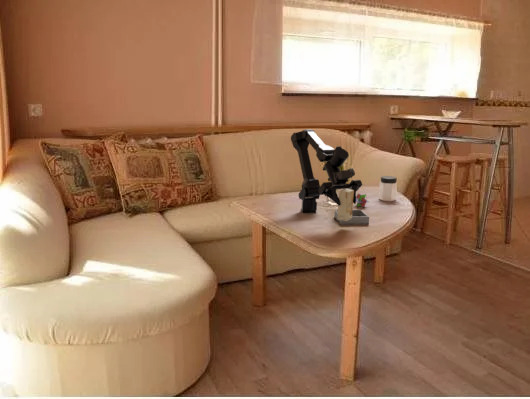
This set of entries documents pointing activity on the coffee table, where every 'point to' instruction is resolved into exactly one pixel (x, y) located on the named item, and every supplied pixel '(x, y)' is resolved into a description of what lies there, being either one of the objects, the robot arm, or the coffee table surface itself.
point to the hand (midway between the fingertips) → (347, 204)
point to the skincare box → (345, 204)
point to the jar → (388, 188)
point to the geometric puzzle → (361, 200)
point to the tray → (354, 218)
